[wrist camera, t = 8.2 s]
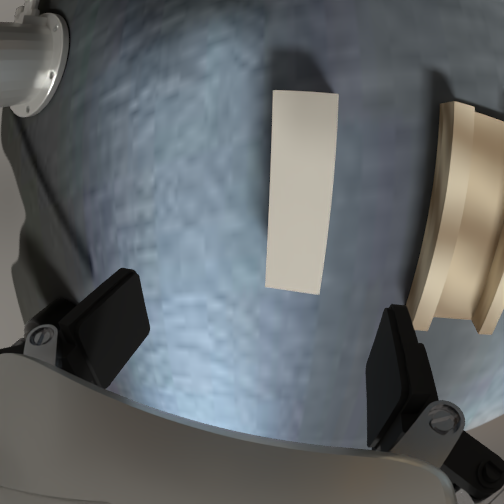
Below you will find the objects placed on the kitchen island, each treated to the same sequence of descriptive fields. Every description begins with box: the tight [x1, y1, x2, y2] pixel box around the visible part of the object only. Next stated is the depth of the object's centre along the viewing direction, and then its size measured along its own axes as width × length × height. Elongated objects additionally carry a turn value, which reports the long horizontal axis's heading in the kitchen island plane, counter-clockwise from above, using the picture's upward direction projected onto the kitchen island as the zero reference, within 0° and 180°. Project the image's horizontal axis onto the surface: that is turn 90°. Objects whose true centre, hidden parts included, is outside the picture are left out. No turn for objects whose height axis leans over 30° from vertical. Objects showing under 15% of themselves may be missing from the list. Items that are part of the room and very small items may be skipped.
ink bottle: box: [11, 299, 76, 347], centre depth 30 cm, size 10×9×12 cm
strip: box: [265, 90, 339, 295], centre depth 18 cm, size 12×4×4 cm, turn 179°
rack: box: [406, 101, 504, 335], centre depth 16 cm, size 16×8×3 cm, turn 179°
